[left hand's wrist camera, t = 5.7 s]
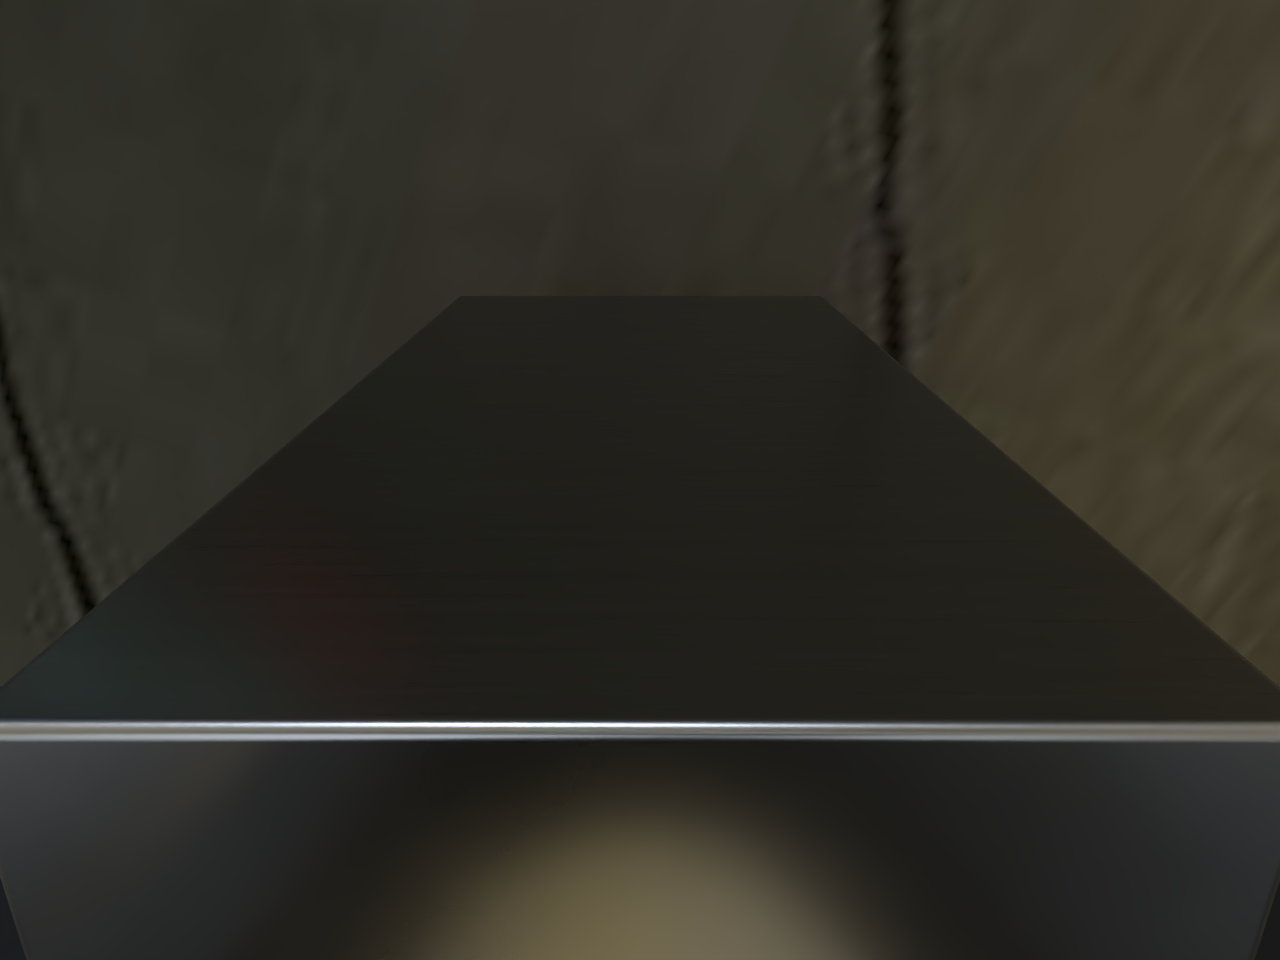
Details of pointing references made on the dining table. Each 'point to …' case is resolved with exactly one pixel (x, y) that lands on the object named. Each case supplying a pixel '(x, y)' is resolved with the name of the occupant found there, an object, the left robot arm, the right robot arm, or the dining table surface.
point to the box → (640, 681)
